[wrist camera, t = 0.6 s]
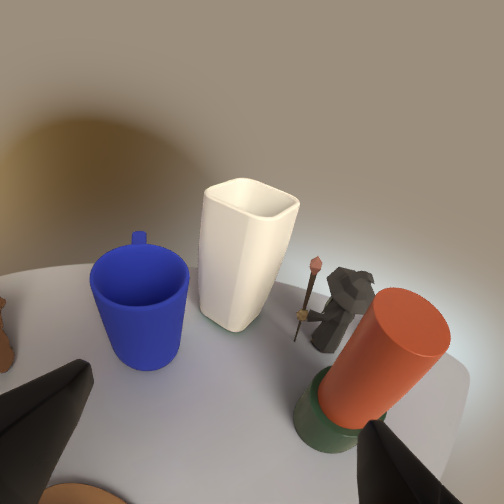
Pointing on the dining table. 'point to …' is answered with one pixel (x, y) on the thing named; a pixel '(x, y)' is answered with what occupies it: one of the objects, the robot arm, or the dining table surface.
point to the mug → (141, 301)
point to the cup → (241, 248)
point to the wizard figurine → (337, 304)
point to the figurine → (4, 345)
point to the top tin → (383, 358)
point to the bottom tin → (321, 422)
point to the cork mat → (77, 495)
